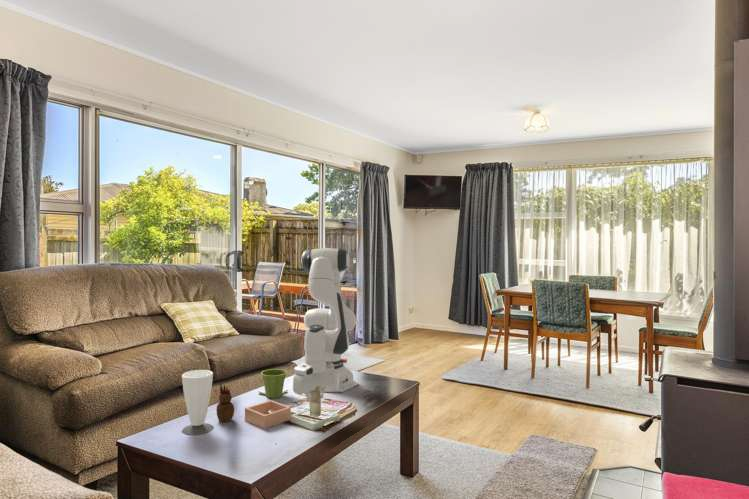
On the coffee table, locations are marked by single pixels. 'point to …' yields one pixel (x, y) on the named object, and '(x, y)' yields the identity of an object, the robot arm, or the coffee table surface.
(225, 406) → the wooden figurine
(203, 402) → the cup
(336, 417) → the sage tray
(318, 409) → the beech peg
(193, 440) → the coffee table surface
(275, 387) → the plant pot
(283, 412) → the frame
